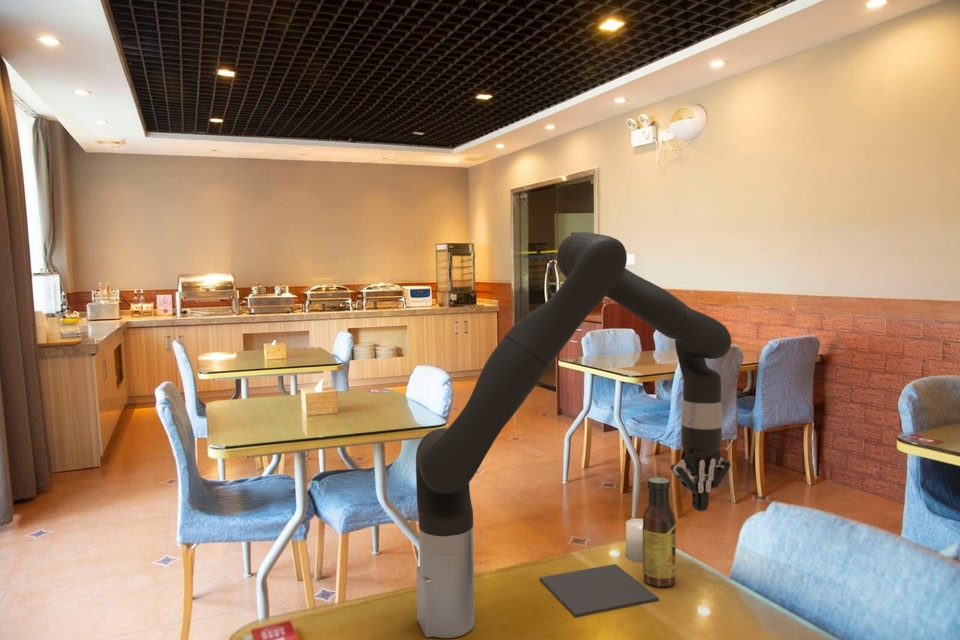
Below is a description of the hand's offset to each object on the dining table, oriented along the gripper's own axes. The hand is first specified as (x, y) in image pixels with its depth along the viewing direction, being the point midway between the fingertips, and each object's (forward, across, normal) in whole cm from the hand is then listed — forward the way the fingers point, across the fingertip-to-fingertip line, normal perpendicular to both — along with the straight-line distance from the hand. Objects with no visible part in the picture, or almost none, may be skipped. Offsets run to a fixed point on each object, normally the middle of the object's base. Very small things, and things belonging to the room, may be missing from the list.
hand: (700, 509), depth 129 cm
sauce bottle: (+13, -10, 0) cm, 16 cm away
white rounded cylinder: (+13, -6, +11) cm, 18 cm away
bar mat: (+13, -22, +1) cm, 26 cm away
